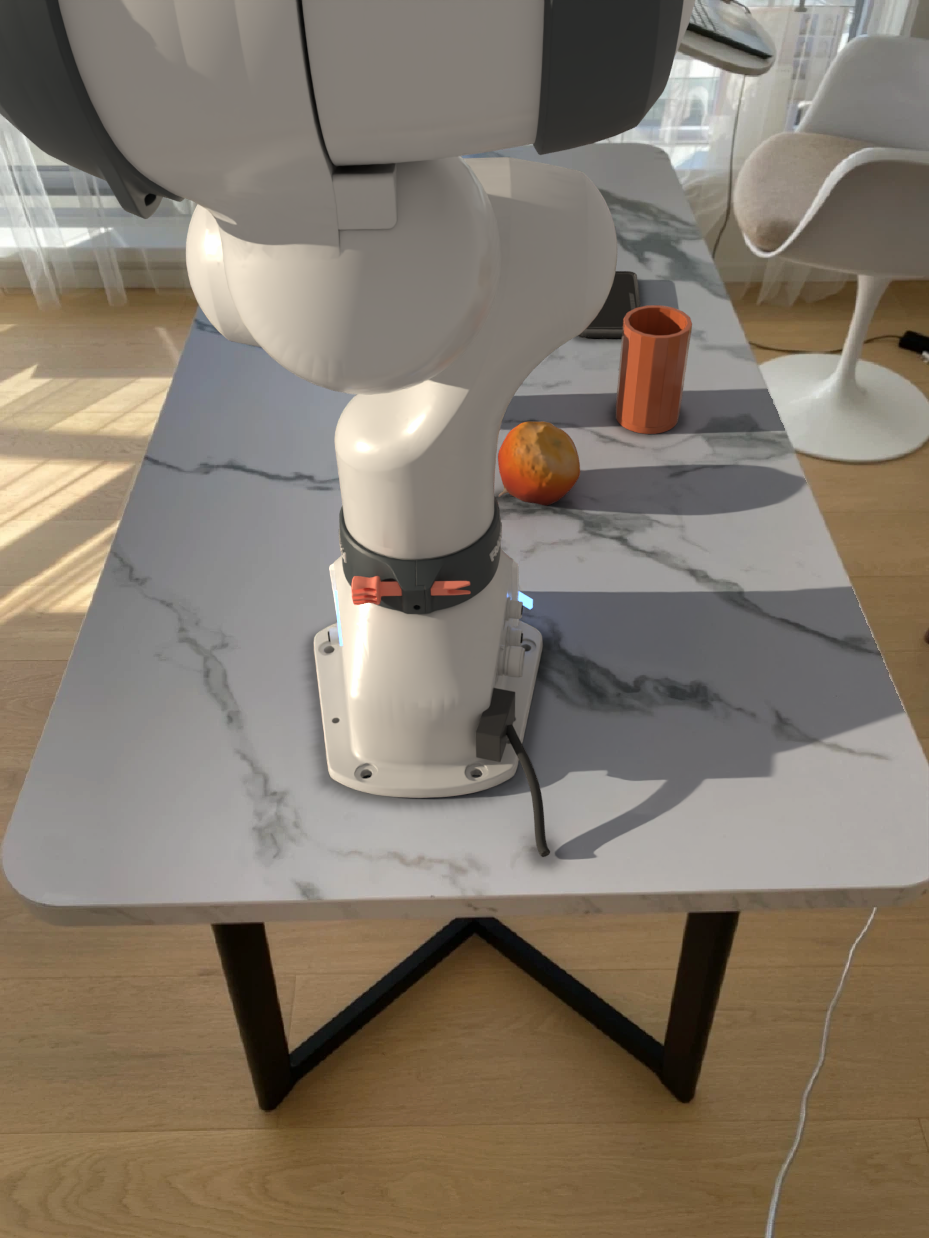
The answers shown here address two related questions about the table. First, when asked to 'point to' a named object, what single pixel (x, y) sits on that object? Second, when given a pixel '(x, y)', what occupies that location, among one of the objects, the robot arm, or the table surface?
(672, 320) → the cup
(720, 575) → the table surface
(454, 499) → the robot arm
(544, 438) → the fruit
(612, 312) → the phone
